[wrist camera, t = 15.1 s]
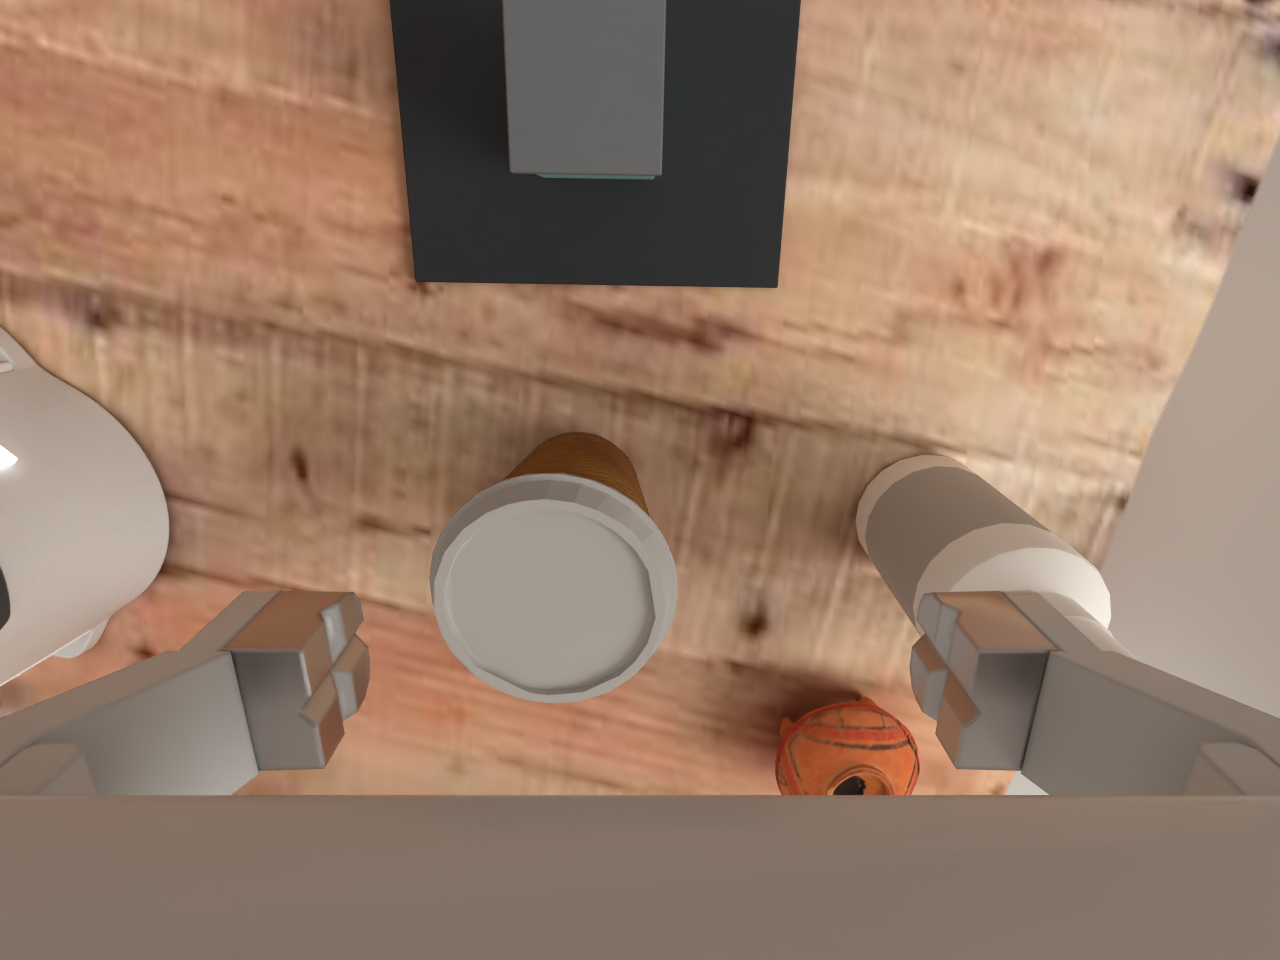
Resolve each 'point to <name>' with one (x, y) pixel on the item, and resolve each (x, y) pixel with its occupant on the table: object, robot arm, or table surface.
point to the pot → (846, 752)
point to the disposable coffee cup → (555, 575)
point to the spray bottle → (972, 545)
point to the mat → (600, 208)
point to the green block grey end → (585, 87)
